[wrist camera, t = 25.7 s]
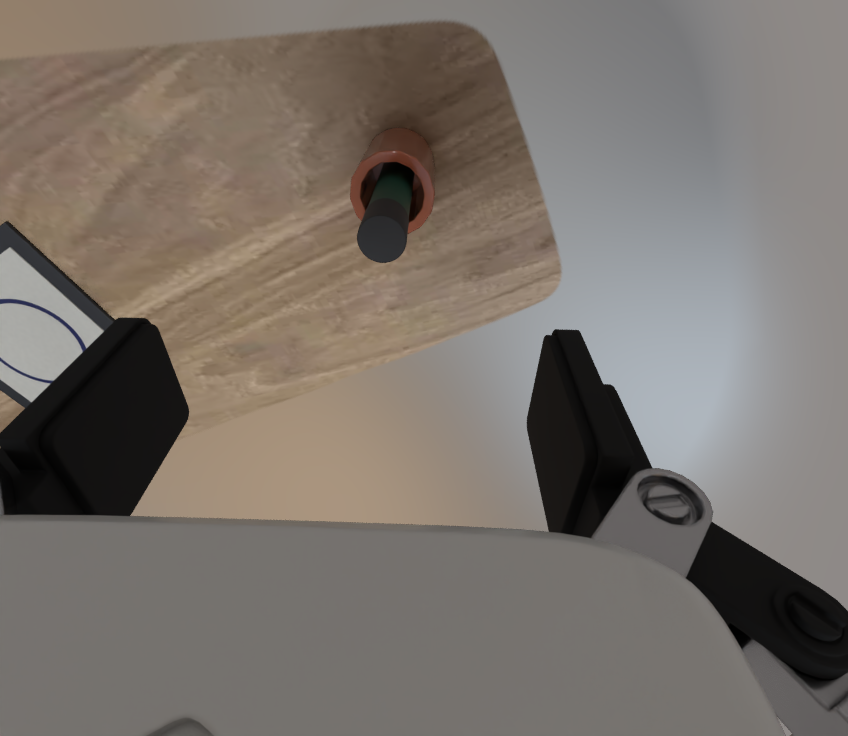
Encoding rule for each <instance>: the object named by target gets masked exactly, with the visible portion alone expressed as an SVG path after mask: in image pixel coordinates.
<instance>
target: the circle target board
mask: <svg viewBox="0 0 848 736" xmlns="http://www.w3.org/2000/svg"><path fill="white" fill-rule="evenodd" d="M114 321H115V320H114V319H113V318H112V317H111V316H109V315H108V314H107V313H106V312H105V311H104V310H103V309H102V308H101V307H100V306H99V305H98V304H96V303H95V302H94V301H93V300H92V299H91V298H90V297H89V296H88V295H87V294H86V293H84V292H83V291H82V290H81V289H80V288H79V287H78V286H77V285H76V284H75V283H74V282H73V281H71V280H70V279H69V278H68V277H67V276H66V275H65V274H64V273H63V272H62V271H61V270H60V269H58V268H57V267H56V266H55V265H54V264H53V263H52V262H51V261H50V260H49V259H48V258H47V257H45V256H44V255H43V254H42V253H41V252H40V251H39V250H38V249H37V248H36V247H35V246H33V245H32V244H31V243H30V242H29V241H28V240H27V239H26V238H25V237H24V236H23V235H22V234H20V233H19V232H18V231H17V230H16V229H15V228H14V227H13V226H12V225H11V224H10V223H9V222H5V223H3V224H2V225H1V226H0V390H1V391H2V392H4V393H5V394H6V395H8V396H9V397H11V398H12V399H13V400H15V401H16V402H18V403H19V404H20V405H22V406H23V407H25V408H26V407H27V406H28V405H29V404H30V403H31V402H32V401H33V400H35V399H36V398H37V397H38V396H39V395H40V394H41V393H42V392H43V391H44V390H45V389H46V388H47V387H48V386H49V385H50V384H51V383H52V382H53V381H54V380H55V379H56V378H57V377H58V376H59V375H60V374H61V373H62V372H63V371H64V370H65V369H66V368H67V367H68V366H69V365H70V364H71V363H72V362H73V361H74V360H75V359H76V358H77V357H78V356H79V355H80V354H81V353H82V352H83V351H84V350H86V349H87V348H88V347H89V346H90V345H91V344H92V343H93V342H94V341H95V340H96V339H97V338H98V337H99V336H100V335H101V334H102V333H103V332H104V331H105V330H106V329H107V328H108V327H109V326H110V325H111V324H112V323H113V322H114Z"/></svg>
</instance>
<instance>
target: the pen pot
mask: <svg viewBox="0 0 848 736" xmlns="http://www.w3.org/2000/svg"><path fill="white" fill-rule="evenodd" d="M386 162H398V163H400V164H403V165H405V166H407V167H409V168H411V169H412V171H413V172H414V173H415V174H414V182H413V189H412V197H411V204H410V212H409V226H408V234H409V233H411V232H412V231H414V230H416V229H418V228H420V227H421V226H422V225H423V223H424V222H425V221H426V219H427V218H428V216H429V215H430V214H431V211H432V207H433V202H434V196H435V164H434V159H433V154H432V151H431V149H430V147H429V145H428V144H427V142H426V141H425V140H424V139H423V138H422V137H421V136H420V135H419V134H417V133H416V132H414V131H412V130H409V129H406V128H391V129H387V130H385V131H383V132H381V133H380V134H378V135H377V136H376V137H375V138H374V139H373V140H372V142H371V143H370V145H369V147H368V148H367V150H366V152H365V154H364V156H363V158H362V159H361V161H360V163H359V165H358V167H357V169H356V171H355V173H354V175H353V176H352V179H351V191H350V199H351V202H352V205H353V207H354V210H355V213H356V215H357V216H358V218H359V219H360V220H361V221H362V219H363V216H364V213H365V211H366V209H367V207H368V205H369V203H370V200H371V197H372V194H373V191H374V189H375V186H376V183H377V180H378V178H379V175H380V172H381V169H382V167H383V164H384V163H386Z"/></svg>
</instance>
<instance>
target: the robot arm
mask: <svg viewBox="0 0 848 736" xmlns="http://www.w3.org/2000/svg"><path fill="white" fill-rule="evenodd" d="M188 416H189V408H188V405H187V402H186V400H185V397H184V394H183V392H182V389H181V387H180V384H179V381H178V379H177V376H176V374H175V371H174V368H173V366H172V363H171V361H170V358H169V355H168V353H167V350H166V348H165V345H164V342H163V340H162V337H161V335H160V332H159V330H158V328H157V327H156V326H155V325H153V324H151V323H150V322H149V321H148V320H147V319H145V318H118V319H116V320H115V321H114V322H113V323H112V324H111V325H110V326H109V327H108V328H107V329H106V330H105V331H104V332H103V333H102V334H101V335H100V336H99V337H98V338H97V339H96V340H95V341H94V342H93V343H92V344H91V345H90V346H89V347H88V348H87V349H86V350H84V351H83V352H82V353H81V354H80V355H79V356H78V357H77V358H76V359H75V360H74V361H73V362H72V363H71V364H70V365H69V366H68V367H67V368H66V369H65V370H64V371H63V372H62V373H61V374H60V375H59V376H58V377H57V378H56V379H55V380H54V381H53V382H52V383H51V384H50V385H49V386H48V387H47V388H46V389H45V390H44V391H43V392H42V393H41V394H40V395H39V396H38V397H37V398H36V399H35V400H33V401H32V402H31V403H30V404H29V405H28V406H27V407H26V408H25V409H24V410H23V411H22V412H21V413H20V414H19V415H18V416H17V417H16V418H15V419H14V420H13V421H12V422H11V423H10V424H9V425H8V426H7V427H6V428H5V429H4V430H3V431H2V432H1V433H0V446H1V448H0V736H786V735H785V733H784V731H783V728H782V726H781V724H780V722H779V720H778V718H779V719H780V720H781V722H782V723H783V724H784V725H785V726H786V727H787V728H788V729H789V730H790V732H791V733H792V735H790V736H848V611H847V610H846V609H845V608H844V607H843V606H842V605H841V604H840V603H839V602H838V601H837V600H836V599H835V598H833V597H832V596H830V595H829V594H828V593H826V592H825V591H823V590H822V589H820V588H819V587H817V586H816V585H814V584H812V583H811V582H809V581H807V580H806V579H804V578H803V577H801V576H799V575H798V574H796V573H794V572H793V571H791V570H790V569H788V568H786V567H785V566H783V565H781V564H780V563H778V562H776V561H775V560H773V559H771V558H770V557H768V556H767V555H765V554H763V553H762V552H760V551H758V550H757V549H755V548H753V547H752V546H750V545H749V544H747V543H745V542H744V541H742V540H741V539H739V538H737V537H736V536H734V535H732V534H731V533H729V532H727V531H726V530H724V529H723V528H721V527H719V526H717V525H716V524H714V523H713V522H711V521H712V515H713V511H712V507H711V503H710V501H709V499H708V498H707V496H706V495H705V493H704V492H703V491H702V490H701V489H700V488H699V487H698V486H697V485H696V484H695V483H693V482H692V481H690V480H689V479H687V478H686V477H684V476H682V475H680V474H677V473H675V472H672V471H670V470H664V469H659V468H652V466H651V464H650V462H649V460H648V458H647V455H646V453H645V451H644V449H643V447H642V445H641V443H640V441H639V438H638V436H637V434H636V432H635V430H634V428H633V426H632V423H631V421H630V419H629V417H628V415H627V413H626V411H625V408H624V406H623V404H622V402H621V400H620V398H619V395H618V393H617V391H616V390H615V388H614V387H613V386H612V385H608V384H607V385H606V384H605V385H604V384H603V383H602V381H601V378H600V376H599V374H598V371H597V369H596V367H595V365H594V363H593V360H592V358H591V355H590V353H589V351H588V349H587V346H586V344H585V342H584V340H583V337H582V335H581V333H580V331H579V330H557V329H555V330H554V331H553V333H552V335H546V336H545V337H544V340H543V344H542V349H541V354H540V359H539V364H538V369H537V373H536V378H535V383H534V388H533V393H532V397H531V402H530V407H529V411H528V416H527V431H528V436H529V440H530V445H531V450H532V454H533V459H534V464H535V469H536V473H537V478H538V483H539V487H540V492H541V497H542V501H543V506H544V511H545V515H546V520H547V525H548V530H549V532H544V531H534V530H522V529H503V528H484V527H464V526H442V525H441V526H440V525H413V524H384V523H356V522H354V523H353V522H325V521H291V520H290V521H289V520H258V519H222V518H185V517H144V516H130V515H131V514H132V512H133V510H134V509H135V507H136V505H137V504H138V502H139V500H140V499H141V497H142V495H143V494H144V492H145V490H146V489H147V487H148V485H149V484H150V482H151V480H152V479H153V477H154V475H155V474H156V472H157V470H158V469H159V467H160V465H161V464H162V462H163V460H164V458H165V457H166V455H167V454H168V452H169V450H170V449H171V447H172V445H173V444H174V442H175V440H176V439H177V437H178V435H179V434H180V432H181V430H182V429H183V427H184V425H185V424H186V422H187V420H188ZM777 717H778V718H777Z"/></svg>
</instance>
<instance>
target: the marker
mask: <svg viewBox="0 0 848 736" xmlns="http://www.w3.org/2000/svg"><path fill="white" fill-rule="evenodd" d="M414 174H415V173H414V172H413V171H412V169H411V168H409V167H407V166H405V165H403V164H400V163H398V162H386V163H384V164H383V167H382V169H381V172H380V175H379V178H378V180H377V183H376V186H375V189H374V191H373V194H372V197H371V200H370V203H369V205H368V207H367V209H366V211H365V213H364V216H363V219H362V222H361V224H360V227H359V230H358V234H357V241H358V245H359V248H360V249H361V251H362V252H363V254H364V255H365V256H366V257H368V258H369V259H371V260H373V261H376V262H380V263H386V262H391V261H393V260H395V259H397V258H398V257H399V256H400V255H401V254H402V253H403V251H404V250H405V247H406V242H407V234H408V226H409V212H410V204H411V197H412V189H413V182H414Z"/></svg>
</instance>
